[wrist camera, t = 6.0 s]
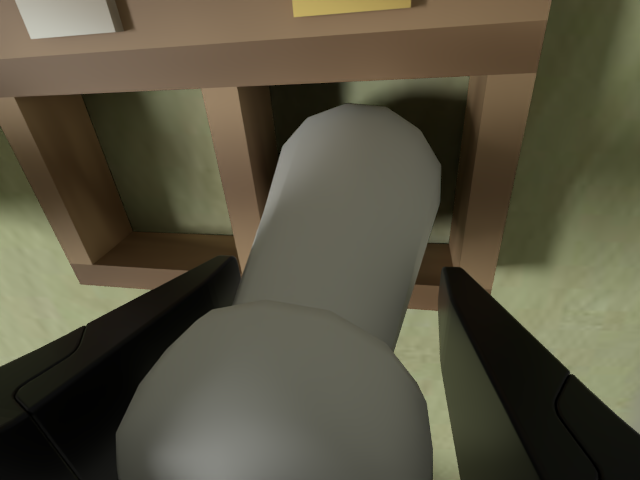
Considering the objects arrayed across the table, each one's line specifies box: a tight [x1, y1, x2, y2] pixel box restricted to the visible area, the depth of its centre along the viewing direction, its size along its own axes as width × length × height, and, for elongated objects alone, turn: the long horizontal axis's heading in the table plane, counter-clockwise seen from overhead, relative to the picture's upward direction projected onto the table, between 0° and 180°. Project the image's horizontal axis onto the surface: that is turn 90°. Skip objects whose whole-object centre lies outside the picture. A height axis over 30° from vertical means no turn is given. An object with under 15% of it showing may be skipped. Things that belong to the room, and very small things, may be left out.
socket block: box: [0, 0, 552, 311], centre depth 14 cm, size 14×18×3 cm
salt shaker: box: [116, 103, 441, 480], centre depth 10 cm, size 6×6×13 cm
